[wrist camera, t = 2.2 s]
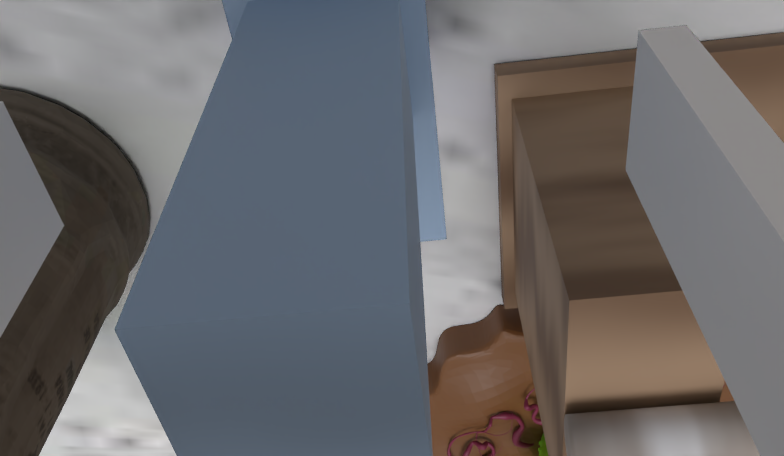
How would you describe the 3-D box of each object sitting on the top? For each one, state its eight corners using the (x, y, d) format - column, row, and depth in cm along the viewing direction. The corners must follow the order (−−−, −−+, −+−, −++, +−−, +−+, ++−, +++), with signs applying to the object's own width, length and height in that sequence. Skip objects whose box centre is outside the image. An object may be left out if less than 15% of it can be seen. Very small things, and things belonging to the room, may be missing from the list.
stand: (494, 64, 28) (566, 331, 17) (961, 12, 27) (1370, 262, 16) (501, 294, 35) (555, 586, 24) (868, 261, 34) (1102, 551, 23)
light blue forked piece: (261, -256, 21) (-121, -3, 5) (396, -275, 21) (431, -71, 5) (321, 58, 28) (228, 624, 11) (426, 46, 27) (485, 608, 11)
